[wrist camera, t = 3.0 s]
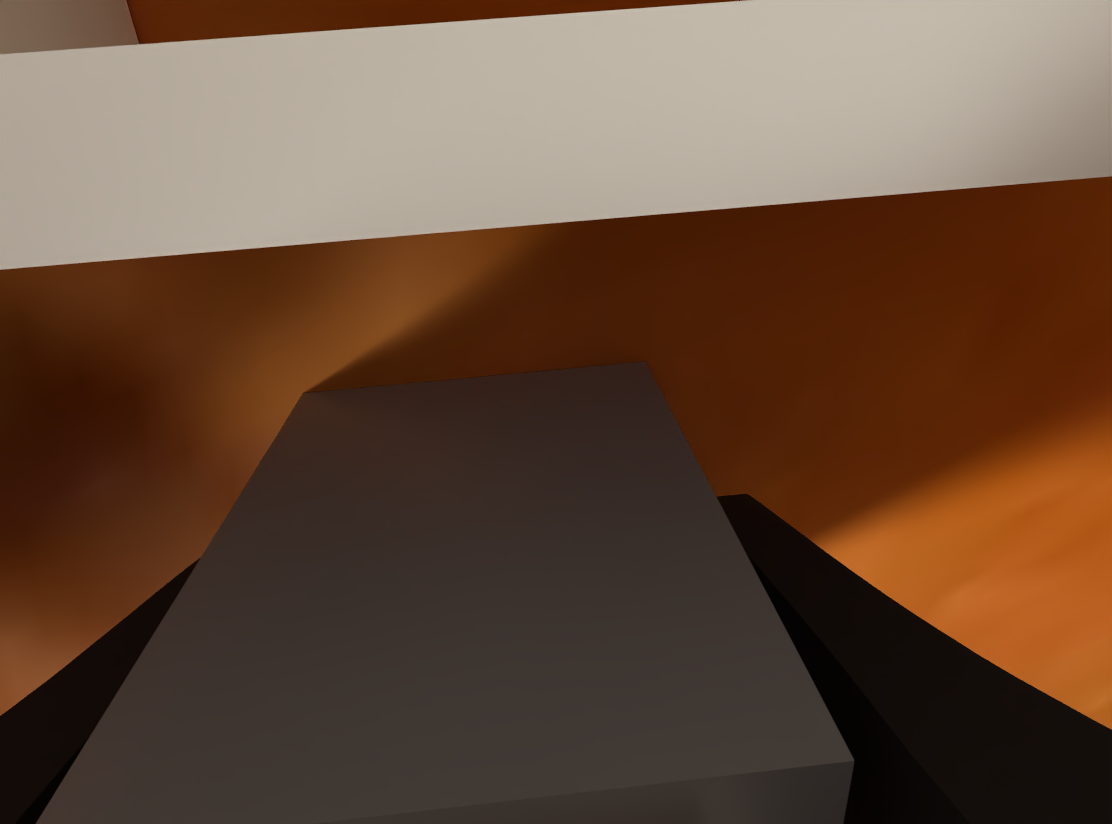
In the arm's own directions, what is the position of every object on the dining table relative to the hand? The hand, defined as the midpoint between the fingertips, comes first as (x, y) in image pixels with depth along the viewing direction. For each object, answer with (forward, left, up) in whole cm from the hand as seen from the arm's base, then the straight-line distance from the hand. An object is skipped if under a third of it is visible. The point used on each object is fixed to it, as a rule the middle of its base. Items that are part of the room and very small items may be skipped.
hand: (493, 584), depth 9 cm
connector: (0, 0, -2) cm, 2 cm away
